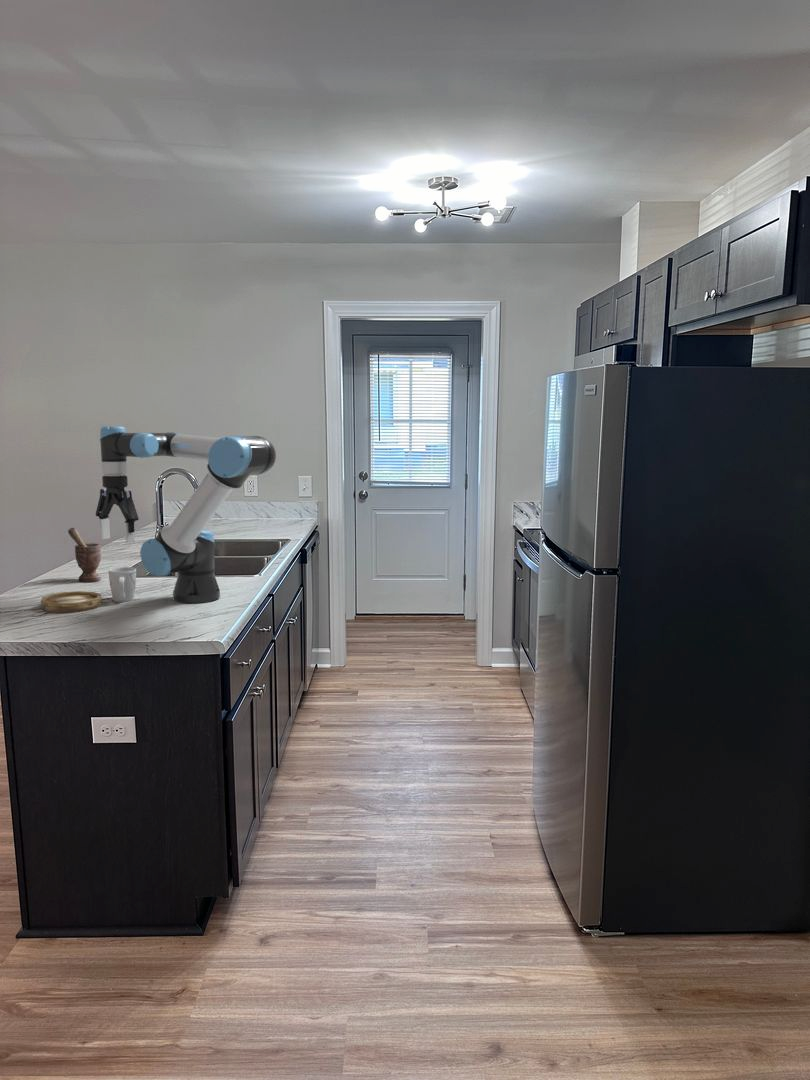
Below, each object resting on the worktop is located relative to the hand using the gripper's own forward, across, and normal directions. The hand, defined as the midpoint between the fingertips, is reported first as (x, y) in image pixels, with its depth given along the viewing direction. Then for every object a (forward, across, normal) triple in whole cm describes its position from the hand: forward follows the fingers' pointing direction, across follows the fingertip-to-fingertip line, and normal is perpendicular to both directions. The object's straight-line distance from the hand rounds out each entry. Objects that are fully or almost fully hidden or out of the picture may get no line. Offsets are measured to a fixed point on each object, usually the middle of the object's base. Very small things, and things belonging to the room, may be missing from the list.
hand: (117, 540), depth 247 cm
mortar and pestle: (+19, +32, -7) cm, 37 cm away
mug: (+20, -3, +1) cm, 20 cm away
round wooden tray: (+19, +2, +16) cm, 25 cm away
